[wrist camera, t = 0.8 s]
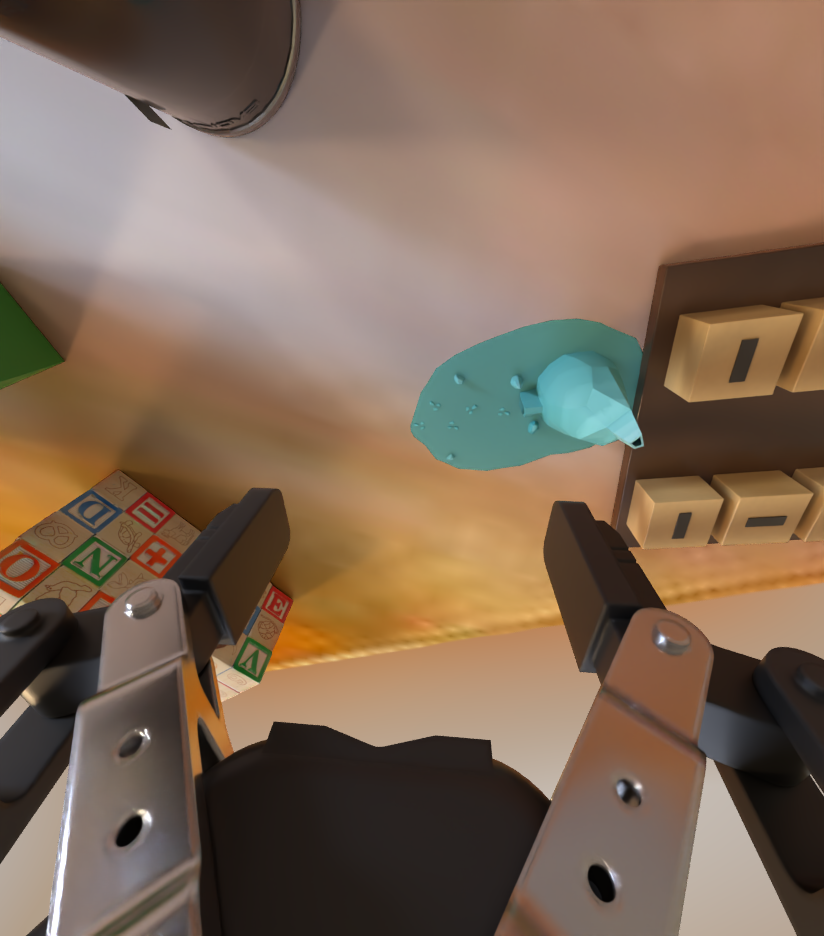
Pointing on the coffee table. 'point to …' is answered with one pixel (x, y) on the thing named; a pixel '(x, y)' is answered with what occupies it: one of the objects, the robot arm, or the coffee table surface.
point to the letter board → (727, 402)
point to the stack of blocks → (126, 568)
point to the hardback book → (21, 344)
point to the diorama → (531, 396)
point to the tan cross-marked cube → (811, 504)
